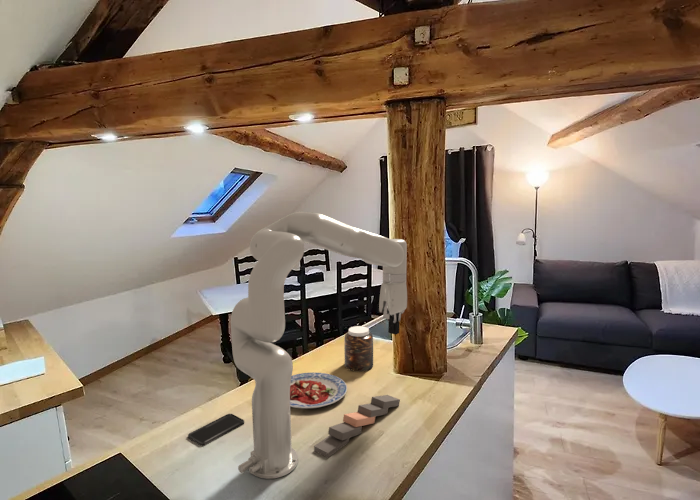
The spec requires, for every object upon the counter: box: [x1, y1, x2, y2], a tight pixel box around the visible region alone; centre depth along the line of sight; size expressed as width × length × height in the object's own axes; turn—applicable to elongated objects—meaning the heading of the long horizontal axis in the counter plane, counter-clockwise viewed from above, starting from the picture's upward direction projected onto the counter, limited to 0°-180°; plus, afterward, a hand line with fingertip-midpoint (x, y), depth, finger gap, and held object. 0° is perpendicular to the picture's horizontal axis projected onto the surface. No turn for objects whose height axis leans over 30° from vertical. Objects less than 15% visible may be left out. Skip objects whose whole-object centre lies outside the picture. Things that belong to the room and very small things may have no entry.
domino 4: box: [370, 394, 401, 409], centre depth 137 cm, size 2×5×9 cm
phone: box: [187, 413, 245, 447], centre depth 126 cm, size 8×1×15 cm
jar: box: [343, 325, 374, 373], centre depth 169 cm, size 12×12×15 cm
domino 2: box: [313, 434, 350, 458], centre depth 117 cm, size 2×5×9 cm
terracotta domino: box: [342, 411, 376, 427], centre depth 127 cm, size 2×5×9 cm
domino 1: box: [327, 421, 363, 441], centre depth 121 cm, size 2×5×9 cm
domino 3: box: [357, 402, 389, 418], centre depth 132 cm, size 2×5×9 cm
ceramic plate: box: [290, 371, 348, 409], centre depth 147 cm, size 26×26×3 cm
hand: (393, 333), depth 139 cm, fingers closed
